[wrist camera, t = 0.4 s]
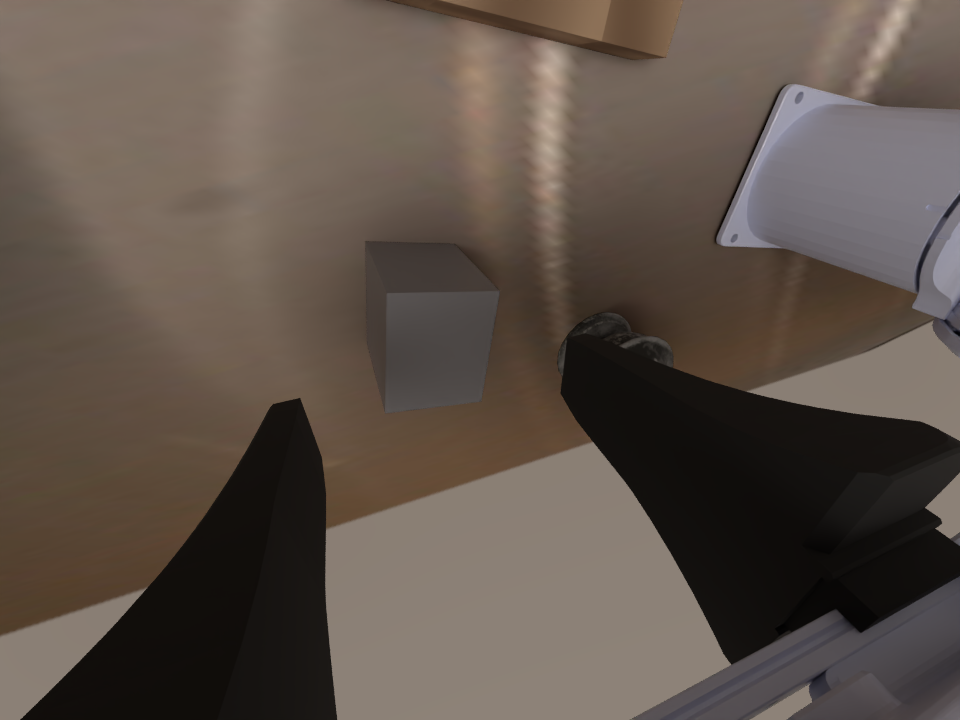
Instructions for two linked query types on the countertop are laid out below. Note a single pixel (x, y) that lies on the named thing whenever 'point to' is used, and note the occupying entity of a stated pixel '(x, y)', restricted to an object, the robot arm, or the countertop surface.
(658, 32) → the socket frame
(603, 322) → the weathered stone finial
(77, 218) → the countertop surface
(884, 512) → the robot arm
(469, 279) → the plug
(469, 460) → the countertop surface
